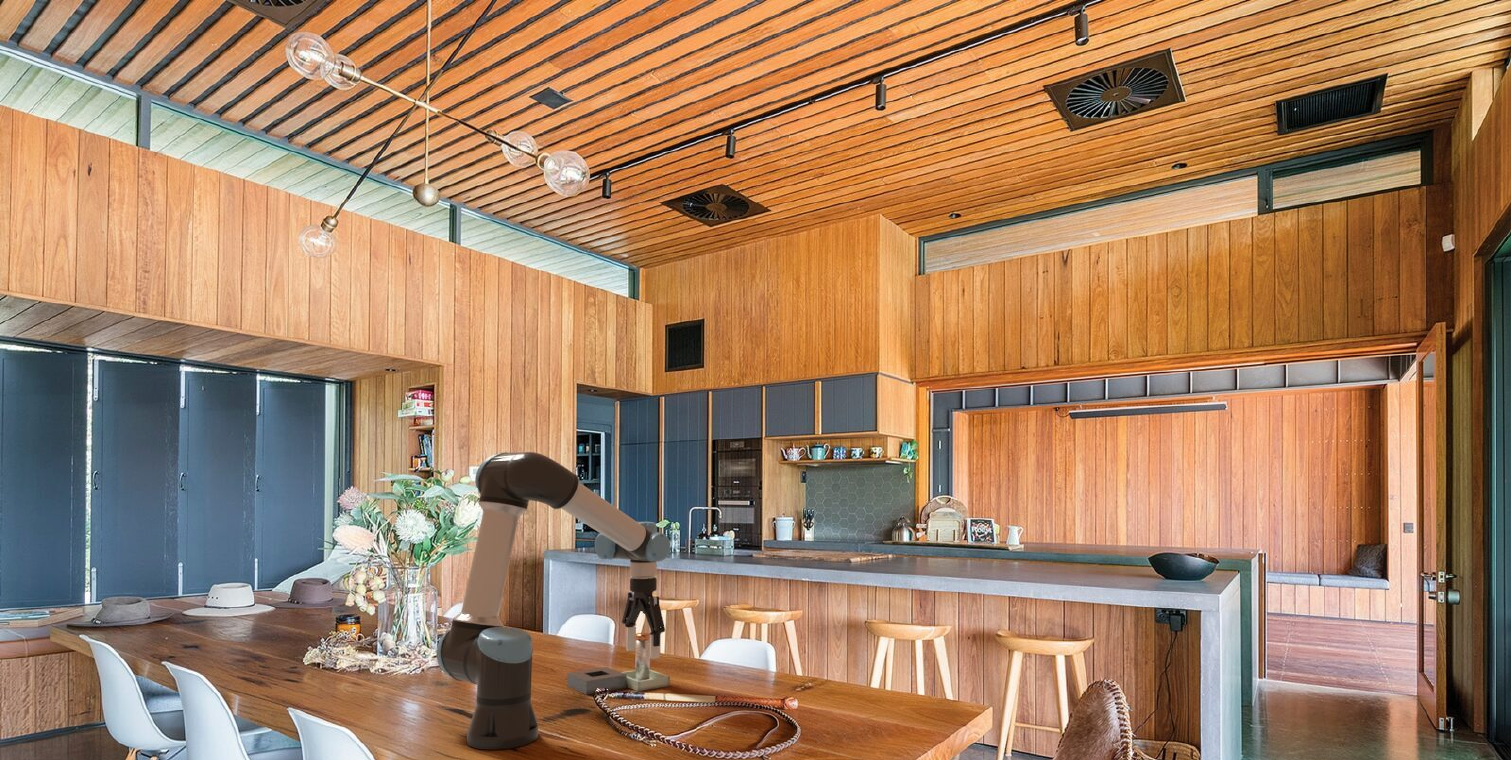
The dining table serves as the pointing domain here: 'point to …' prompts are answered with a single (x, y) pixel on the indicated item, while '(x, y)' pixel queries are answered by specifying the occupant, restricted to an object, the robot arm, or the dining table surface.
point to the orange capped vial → (642, 656)
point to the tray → (647, 681)
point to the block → (596, 680)
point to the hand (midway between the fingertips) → (642, 654)
